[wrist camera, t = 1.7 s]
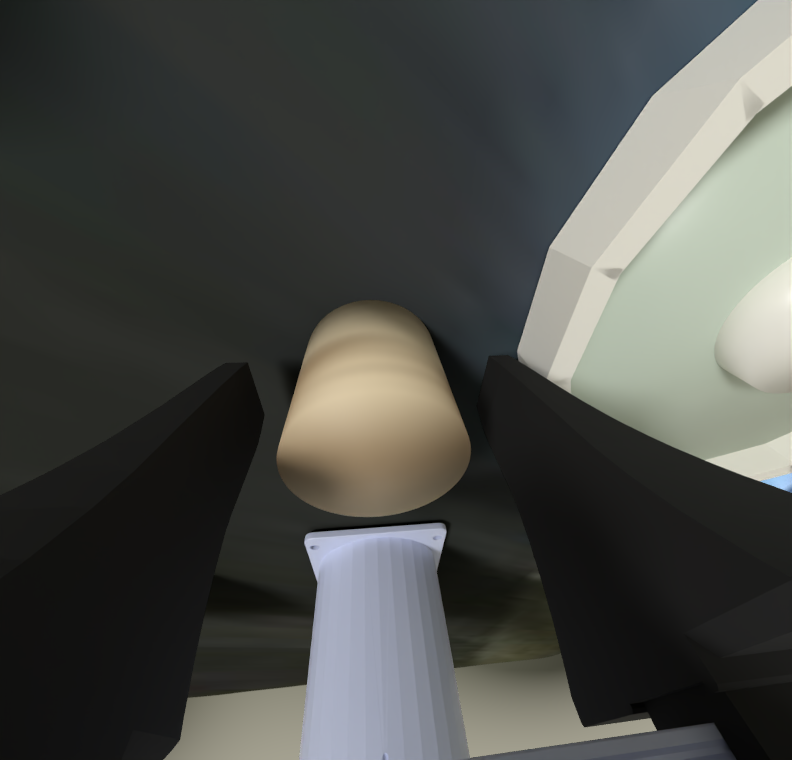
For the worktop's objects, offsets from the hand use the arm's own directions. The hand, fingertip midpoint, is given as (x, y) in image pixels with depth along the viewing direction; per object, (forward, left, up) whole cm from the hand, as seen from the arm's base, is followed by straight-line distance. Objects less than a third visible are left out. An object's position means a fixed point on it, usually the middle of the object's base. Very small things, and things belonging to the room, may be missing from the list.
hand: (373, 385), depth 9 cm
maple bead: (0, 0, -2) cm, 2 cm away
